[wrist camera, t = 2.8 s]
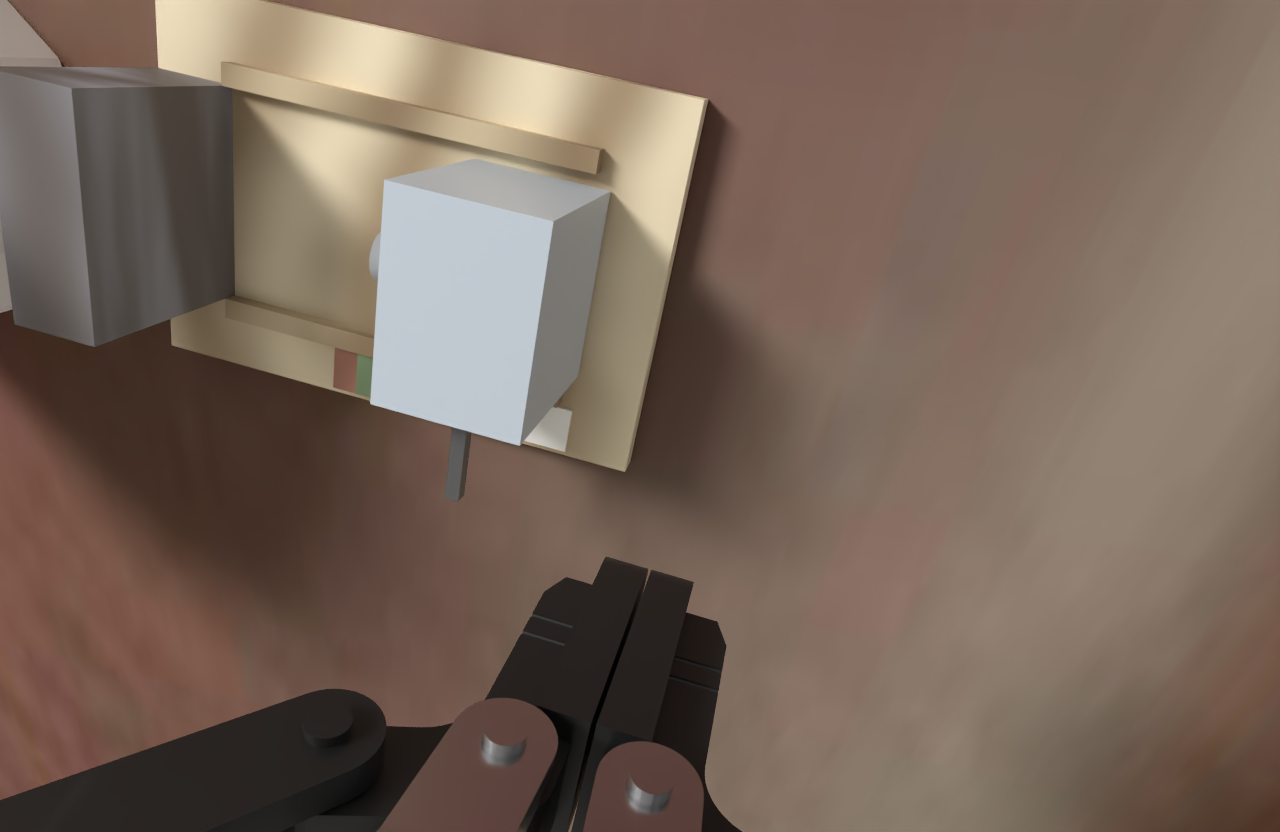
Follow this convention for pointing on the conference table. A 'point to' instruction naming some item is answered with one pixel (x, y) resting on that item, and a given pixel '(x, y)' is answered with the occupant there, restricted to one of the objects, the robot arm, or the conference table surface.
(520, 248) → the block
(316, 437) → the conference table surface
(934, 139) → the conference table surface
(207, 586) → the conference table surface
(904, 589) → the conference table surface
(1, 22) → the container
